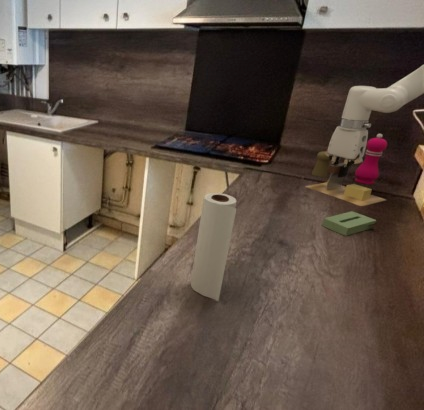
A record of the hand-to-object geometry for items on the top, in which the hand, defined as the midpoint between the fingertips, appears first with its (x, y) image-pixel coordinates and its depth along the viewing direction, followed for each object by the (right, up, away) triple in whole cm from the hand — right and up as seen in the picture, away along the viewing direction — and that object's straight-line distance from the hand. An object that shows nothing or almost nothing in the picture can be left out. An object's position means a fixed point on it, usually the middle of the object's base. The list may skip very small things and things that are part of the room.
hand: (337, 175), depth 129 cm
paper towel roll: (-65, -29, -51) cm, 88 cm away
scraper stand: (-13, -17, -23) cm, 31 cm away
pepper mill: (+18, -3, +11) cm, 21 cm away
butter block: (+3, -8, -5) cm, 10 cm away
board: (+2, -8, -1) cm, 8 cm away
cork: (+5, 0, +18) cm, 18 cm away
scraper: (0, -5, +2) cm, 5 cm away
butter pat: (0, -4, +3) cm, 5 cm away
